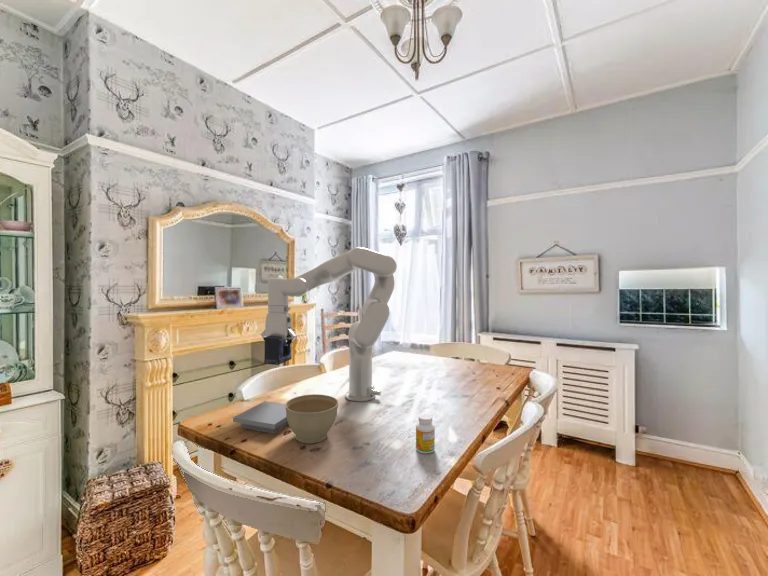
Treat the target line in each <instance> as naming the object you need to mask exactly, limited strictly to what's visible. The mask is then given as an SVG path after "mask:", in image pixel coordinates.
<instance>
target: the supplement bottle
mask: <svg viewBox="0 0 768 576" xmlns="http://www.w3.org/2000/svg"><path fill="white" fill-rule="evenodd" d="M435 434H436V432H435V424H434V423H433V416H432V415H431V414H427V413H422V414H421V413H420V414H419V415H418V422H417V423H416V424H415V449H416V451H417V452H418V453H421V454H423V453H429V454H432V453H433V452H434V451H435V446H436V444H435V442H436V441H435V439H436V437H435V436H436V435H435ZM431 452H432V453H431Z"/></svg>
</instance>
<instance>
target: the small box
mask: <svg viewBox="0 0 768 576" xmlns="http://www.w3.org/2000/svg"><path fill="white" fill-rule="evenodd" d="M290 338H291V337H290ZM290 338H289V339H290ZM286 341H287V340H286ZM292 344H293V342H292V343H291V345H290V355H288V356H283V347H284V346H285V345H284V342H283V339H282V337H278V336H267V337H265V341H264V355H263V356H264V358H263V359H264V365H275V366H280V365H281V364H284V363H286V362H288V361H291V360H292V354H293V353H292Z"/></svg>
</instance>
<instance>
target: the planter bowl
mask: <svg viewBox="0 0 768 576" xmlns="http://www.w3.org/2000/svg"><path fill="white" fill-rule="evenodd" d="M284 404H285V409H286V416H287V421H288V424H287V425H288V426H289V428H290V429H291V432H292V433H293V434H294V435H295V439H296V440H297V441H298V442H300V443H303V444H316V443H319V442H322V441H324V440H325V439H326V438H327V437H328V433H329V432H330V430H331V429H332V428H333V426H334V424H335V421H336V419H337V413H338V407H339V401H338V399H337V398H335V397H333V396H331V395H326V394H320V393H319V394H315V393H314V394H305V395H304V394H303V395H300V396H295V397H293V398H291V399H289V400H287V401H286V402H285V403H284Z"/></svg>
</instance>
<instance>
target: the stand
mask: <svg viewBox="0 0 768 576" xmlns="http://www.w3.org/2000/svg"><path fill="white" fill-rule="evenodd" d="M285 404H286V403H281V402H280V403H279V402H274V401H267V400H264V401H263V402H260V403H259V404H256V405H254V406H252V407H251V408H249V409H247V410H245V411H243V412H241V413H239V414H237V415H235V416H234V417H233V416H232V420H233V421H232V423H237V424H242V429H248V430H252V431H257V432H264V433H267V434H275V433H276V432H277V431H279V430H281V429H282V428H283V427H285V426H286V425H289V424H288V421H287V416H286V409H285Z"/></svg>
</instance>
